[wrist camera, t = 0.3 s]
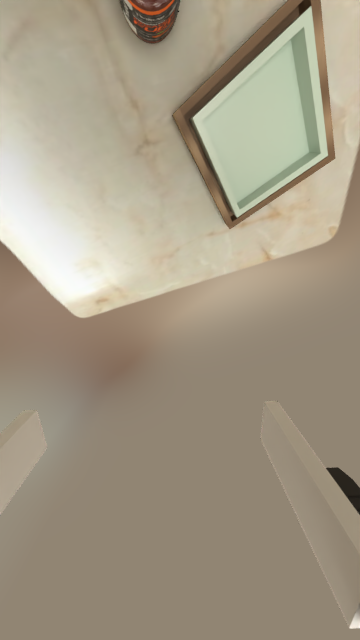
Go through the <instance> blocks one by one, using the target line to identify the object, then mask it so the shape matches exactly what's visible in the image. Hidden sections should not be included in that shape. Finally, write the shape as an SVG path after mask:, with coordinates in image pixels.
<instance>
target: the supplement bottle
mask: <svg viewBox="0 0 360 640" xmlns="http://www.w3.org/2000/svg"><path fill="white" fill-rule="evenodd" d="M179 3H180V0H120V4H121V7H122V10H123V13H124V15H125V18H126V20H127V22H128V24H129V26H130V27H131V29H132V30H133V32H134V33H135V34H136V35H137V36H138V37H139V38H140V39H142V40H143V41H146V42H149V43H156V42H160V41H161V40H163V39H164V38H165V37H166V36H167V35H168V34H169V32H170V31H171V29H172V27H173V25H174V22H175V20H176V17H177V13H178V12H179V11H178V8H179Z"/></svg>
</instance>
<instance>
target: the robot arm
mask: <svg viewBox="0 0 360 640" xmlns="http://www.w3.org/2000/svg"><path fill="white" fill-rule="evenodd" d="M260 439H261V441H262V444H263V446H264V448H265V450H266V452H267V454H268V456H269V459H270V461H271V462H272V465H273V467H274V469H275V471H276V473H277V476H278V478H279V480H280V482H281V484H282V486H283V488H284V490H285V492H286V495H287V497H288V499H289V501H290V503H291V505H292V507H293V510H294V511H295V514H296V516H297V518H298V520H299V522H300V524H301V526H302V529H303V531H304V533H305V535H306V537H307V539H308V541H309V544H310V545H311V548H312V550H313V552H314V554H315V556H316V559H317V561H318V563H319V565H320V567H321V569H322V571H323V573H324V576H325V578H326V580H327V582H328V584H329V586H330V588H331V590H332V592H333V595H334V597H335V599H336V601H337V603H338V605H339V607H340V610H341V612H342V614H343V616H344V618H345V620H346V622H347V624H348V626H349V628H360V488H359V487H358V485H357V484H356V483H355V482H354V481H353V479H351V478H350V477H349V476H348V475H346V474H345V473H344V472H343V471H342V470H340V469H339V468H325V466H324V465H323V464H322V462H321V461H320V460H319V458H318V457H317V455H316V454H315V453H314V451H313V450H312V448H311V447H310V446H309V444H308V443H307V441H306V440H305V439H304V437H303V436H302V435H301V433H300V432H299V430H298V429H297V428H296V426H295V425H294V423H293V422H292V421H291V419H290V418H289V417H288V415H287V414H286V412H285V411H284V410H283V408H282V407H281V405H280V404H279V403H278V401H265V402H264V409H263V418H262V428H261V438H260ZM46 448H47V444H46V440H45V437H44V433H43V430H42V426H41V423H40V419H39V415H38V413H37V410H26V411H25V410H24V411H23V412H22V413H21V414H20V415H19V416H18V417H16V418H15V419H14V420H13V421H12V422H11V423H10V424H9V425H8V426H7V427H6V428H5V429H4V430H3V431H2V432H1V433H0V515H1V513H2V512H3V510H4V509H5V508H6V506H7V505H8V503H9V502H10V500H11V499H12V498H13V496H14V494H15V493H16V492H17V490H18V489H19V487H20V486H21V485H22V483H23V482H24V480H25V479H26V477H27V476H28V474H29V473H30V472H31V470H32V469H33V467H34V466H35V465H36V463H37V462H38V460H39V459H40V457H41V456H42V454H43V453H44V452H45V450H46Z"/></svg>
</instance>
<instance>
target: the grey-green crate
mask: <svg viewBox="0 0 360 640" xmlns="http://www.w3.org/2000/svg"><path fill="white" fill-rule="evenodd" d="M189 120H190V123H191V125H192V127H193V129H194V131H195V134H196V136H197V138H198V140H199V142H200V145H201V147H202V149H203V151H204V153H205V156H206V158H207V160H208V162H209V164H210V167H211V169H212V171H213V173H214V175H215V178H216V180H217V182H218V184H219V186H220V188H221V191H222V193H223V195H224V197H225V199H226V202H227V204H228V206H229V208H230V210H231V212H232V213H233V214H234V215H235V216H236V217H239V216H240V215H242V214H243V213H245V212H246V211H248V210H249V209H251V208H252V207H254V206H255V205H257V204H258V203H259V202H261V201H262V200H264V199H265V198H267V197H268V196H270V195H271V194H273V193H274V192H276V191H277V190H278V189H280V188H281V187H283V186H284V185H286V184H287V183H289V182H290V181H292V180H293V179H295V178H296V177H297V176H299V175H300V174H302V173H303V172H305V171H306V170H308V169H309V168H311V167H312V166H314V165H315V164H316V163H318V162H319V161H321V160H322V159H324V158H325V157H327V156H328V150H327V141H326V132H325V124H324V115H323V106H322V97H321V88H320V79H319V70H318V61H317V52H316V44H315V35H314V26H313V17H312V8H311V6H310V7H309V8H308V9H307V10H306V11H305V12H303V13H302V14H301V15H300V16H299V17H297V18H296V19H295V20H294V21H293V22H292V23H291V24H289V25H288V26H287V27H286V28H285V29H284V30H283V31H282V32H281V33H280V34H279V35H278V36H277V37H276V38H275V39H274V40H273V41H272V42H270V43H269V44H268V45H267V46H266V47H265V48H264V49H263V50H262V51H261V52H260V53H259V54H258V55H257V56H256V57H255V58H254V59H252V60H251V61H250V62H249V63H248V64H247V65H246V66H245V67H244V68H243V69H242V70H241V71H240V72H239V73H238V74H237V75H236V76H235V77H233V78H232V79H231V80H230V81H229V82H228V83H227V84H226V85H225V86H224V87H223V88H222V89H221V90H220V91H219V92H218V93H217V94H215V95H214V96H213V97H212V98H211V99H210V100H209V101H208V102H207V103H206V104H205V105H204V106H203V107H202V108H201V109H200V110H199V111H198V112H196V113H195V114H194V115H193V116H192V117H191V118H190V119H189Z"/></svg>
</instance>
